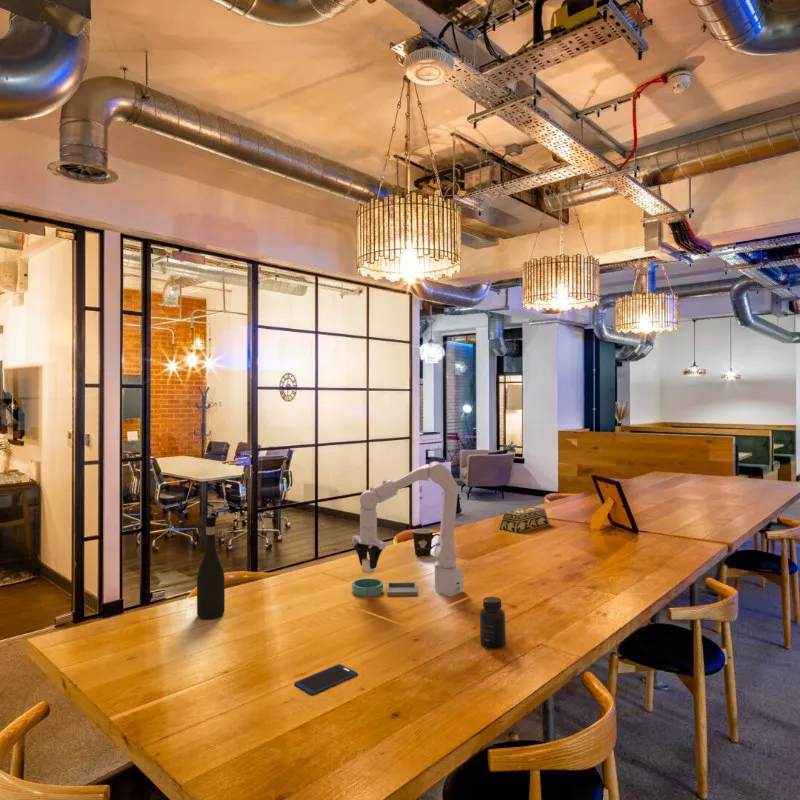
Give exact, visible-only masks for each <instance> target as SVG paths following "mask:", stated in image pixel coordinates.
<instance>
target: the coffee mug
mask: <svg viewBox="0 0 800 800" xmlns="http://www.w3.org/2000/svg"><path fill="white" fill-rule="evenodd" d="M433 532H434V530H432V529H431V528H416V529H413V530H412V537H413V547H414V553H415V554H414V555H415V556H416V555H417V557H420V556H426V557H429V556H428V555H430V556H431V553H432V552H431V551H432V549H433V548H436V546H437V544H438V542H437V543H435V544H433V545H432V541H433V539H434V538H435V536H440V533H434V534H433Z"/></svg>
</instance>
